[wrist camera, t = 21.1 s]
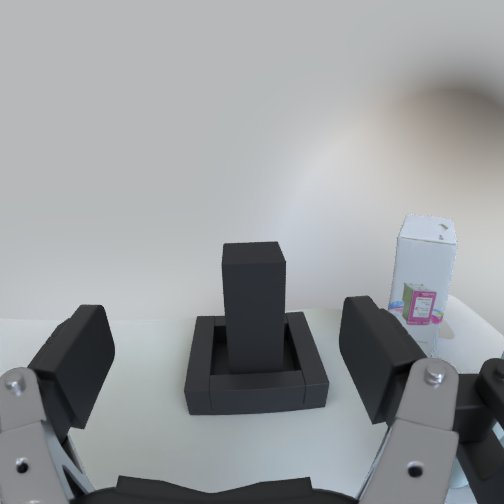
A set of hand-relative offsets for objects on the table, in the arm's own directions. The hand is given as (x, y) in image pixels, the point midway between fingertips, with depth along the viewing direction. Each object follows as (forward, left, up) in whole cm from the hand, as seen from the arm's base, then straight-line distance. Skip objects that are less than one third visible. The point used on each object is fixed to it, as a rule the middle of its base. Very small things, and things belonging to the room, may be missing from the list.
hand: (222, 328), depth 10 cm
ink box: (+17, +13, -12) cm, 25 cm away
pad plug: (+2, +12, -12) cm, 16 cm away
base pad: (+2, +12, -12) cm, 17 cm away
